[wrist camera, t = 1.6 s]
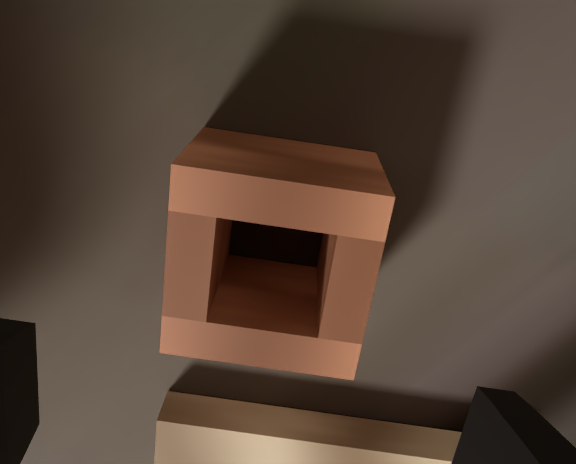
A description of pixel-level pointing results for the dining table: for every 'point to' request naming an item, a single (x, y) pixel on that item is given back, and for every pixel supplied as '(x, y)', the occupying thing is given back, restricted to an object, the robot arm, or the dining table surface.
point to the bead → (270, 274)
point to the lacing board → (287, 436)
